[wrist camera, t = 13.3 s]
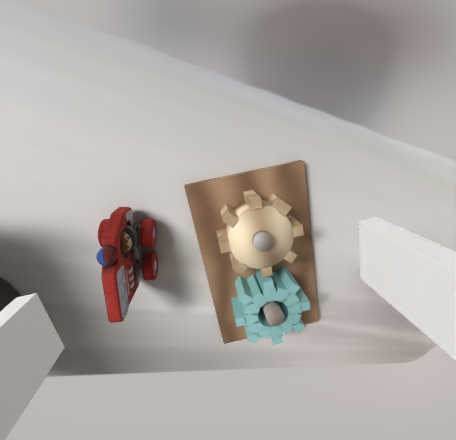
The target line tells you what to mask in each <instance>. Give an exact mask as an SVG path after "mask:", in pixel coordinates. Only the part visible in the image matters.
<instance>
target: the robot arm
mask: <svg viewBox="0 0 456 440" xmlns="http://www.w3.org/2000/svg"><path fill="white" fill-rule="evenodd" d="M359 243H360V278H361V279H362V280H363V281H364V282H365V283H366V284H368V285H369V286H370V287H371V288H372V289H373V290H374V291H376V292H377V293H378V294H379V295H380V296H381V297H383V298H384V299H385V300H386V301H387V302H388V303H390V304H391V305H392V306H393V307H394V308H395V309H396V310H398V311H399V312H400V313H401V314H402V315H403V316H405V317H406V318H407V319H408V320H409V321H410V322H411V323H413V324H414V325H415V326H416V327H417V328H418V329H420V330H421V331H422V332H423V333H424V334H425V335H427V336H428V337H429V338H430V339H431V340H432V341H433V342H435V343H436V344H437V345H438V346H439V347H440V348H442V349H443V350H444V351H445V352H446V353H447V354H448V355H450V356H451V357H452V358H453V359H454V360H456V252H455V251H453V250H451V249H449V248H446V247H444V246H442V245H439V244H437V243H435V242H433V241H430V240H428V239H426V238H424V237H421V236H419V235H417V234H414V233H412V232H410V231H408V230H405V229H403V228H401V227H399V226H396V225H394V224H392V223H389V222H387V221H385V220H383V219H380V218H378V217H374V218H370V219H365V220H361V221H359ZM64 348H65V347H64V345H63V343H62V341H61V339H60V337H59V335H58V333H57V331H56V330H55V328H54V326H53V324H52V322H51V320H50V318H49V316H48V314H47V312H46V310H45V308H44V306H43V304H42V303H41V301H40V299H39V297H38V295H37V293H34V294H30V295H25V296H21V297H20V296H19V295H18V294H17V292H16V291H15V290H14V289H13V288H12V287H11V286H10V285H8V284H7V283H6V282H5V281H3V280H2V279H0V440H5V439H6V438H7V436H8V434H9V433H10V431H11V430H12V428H13V427H14V425H15V424H16V422H17V421H18V419H19V417H20V416H21V414H22V413H23V411H24V410H25V408H26V407H27V405H28V403H29V402H30V400H31V399H32V397H33V396H34V394H35V393H36V391H37V390H38V388H39V386H40V385H41V383H42V382H43V380H44V379H45V377H46V376H47V374H48V373H49V371H50V369H51V368H52V366H53V365H54V363H55V362H56V360H57V359H58V357H59V355H60V354H61V352H62V351H63V349H64Z"/></svg>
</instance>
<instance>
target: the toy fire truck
mask: <svg viewBox="0 0 456 440" xmlns="http://www.w3.org/2000/svg"><path fill="white" fill-rule="evenodd" d="M156 233H157V230H156V223H155V220H154V219H143V220H142V222H141V224H137V225H134V222H133V213H132V209H131V208H129V207H119V208H118V209H116V210H115V211H114V212H113V213H112V214H111V216H110V219H104V220H103V221H102V222H101V223H100V226H99V229H98V239H99V243H100V245H101V247H103V248H102V249H100V251H99V252H98V253H97V261H98V262H99V263H100V264H101V265H102V282H103V288H104V294H105V301H106V307H107V314H108V319H109V322H111V323H112V322H121V321H123V320H124V319H125V316H126V314H127V312H128V307H129V304H130V302H131V300H132V298H133V296H134V294H135V291H136V289H137V287H138V286H139V281H140V277H139V269H142V273H143V278H144V279H145V280H155V279H156V277H157V272H158V258H157V254H156V252H146V253H145V254H144V256H143V261H142V263H139V261H138V259H137V250H136V244H137V242H141V244H142V246H143V247H144V248H152V247H154V246H155V243H156Z"/></svg>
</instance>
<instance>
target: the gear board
mask: <svg viewBox="0 0 456 440" xmlns="http://www.w3.org/2000/svg"><path fill="white" fill-rule="evenodd" d="M184 187H185V191H186V195H187V198H188V202H189V206H190V210H191V214H192V218H193V222H194V226H195V230H196V234H197V238H198V242H199V246H200V250H201V254H202V258H203V262H204V266H205V270H206V274H207V278H208V282H209V286H210V290H211V294H212V298H213V302H214V306H215V310H216V314H217V318H218V322H219V326H220V330H221V334H222V338H223V342H224V344H225V343H229V342H234V341H238V340H242V339H246V338H247V335H246V331H245V327H244V325H243V326H239V327H237V325H236V321H235V316H234V311H233V306H232V301H231V298H234V297H238V294H237V290H236V286H235V281H236V280H237V279H238V277H239V276H241V277H243V278H245V279H248V278H249V277H250V276H251V275H254V276H255V277H256V273H257V272H256V269H259V270H260V272H261V274H262V277H266V276H270V275H273V274H272V271H273V272H278V270H279V269H280V268H281V266H283V267H284V268H286V269H288V270H289V271H290V273H291V274H292V276H293V277H294V279H295V280H296V282H297V283H298V285H299V286H300V288H301V289H302V291H303V292H304V294H305V295H306V297H307V298H308V300H309V301H310V310H306V311H302V313H301V320H302V322H303V324H304V325H305V324H309V323H313V322H317V321H319V319H318V308H317V297H316V286H315V275H314V264H313V253H312V242H311V231H310V220H309V209H308V198H307V187H306V176H305V165H304V161H302V160H300V161H295V162H290V163H286V164H281V165H276V166H271V167H267V168H262V169H257V170H252V171H248V172H243V173H238V174H233V175H229V176H224V177H219V178H214V179H210V180H205V181H200V182H195V183H191V184H186V185H185V186H184ZM262 308H263V311H264V314H265V316H266V319H267V322H268V324H269V325H271V326H278V325H280V324H282V323H283V321H284V314H283V312H282V310H281V308H280V306H279V304H278V302H277V301H271V302H267V303H266V304H264V305H263V306H262Z"/></svg>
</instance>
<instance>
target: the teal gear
mask: <svg viewBox="0 0 456 440" xmlns="http://www.w3.org/2000/svg"><path fill="white" fill-rule="evenodd" d="M256 272H257V273H256V277H255V276H254V275H251V276H250V277H249V278H248V279H245V278H243V277H241V276H239V277H238V279H237V280H236V281H235V286H236V290H237V294H238V297H234V298H231V301H232V306H233V311H234V316H235V321H236V325H237V327H239V326H243V325H244V327H245V331H246V335H247V340H249V341H251V342H253V343H256V341H257V340H258V339H259V338H260V337H263V338H269V336H271V339H272V342H273V344H274V345H275V344H279V343H283V342H282V336H283V334H282V331H283V332H284V333H285V334H287V333H288V332H289V331H291V330H292V329H293V330H295V331H297V332H300V331H301V330H302V329H303V327H304V326H305V325H304V324H303V322H302V320H301V313H302V311H306V310H310V301H309V300H308V298H307V297H306V295H305V294H304V292H303V291H302V289H301V288H300V286H299V285H298V283H297V282H296V280H295V279H294V277H293V276H292V274H291V273H290V271H289V270H288V269H286V268H284V267H283V266H281V268H280V269H279V270H278V272H273V271H272V274H273V275H270V276H266V277H262V274H261V272H260V270H259V269H256ZM271 301H277V302H278V304H279V306H280V308H281V310H282V312H283V314H284V321H283V323H282V324H280V325H278V326H271V325H269V324H268V322H267V319H266V316H265V314H264V311H263V308H262V306H263V305H264V304H266V303H267V302H271Z"/></svg>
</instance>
